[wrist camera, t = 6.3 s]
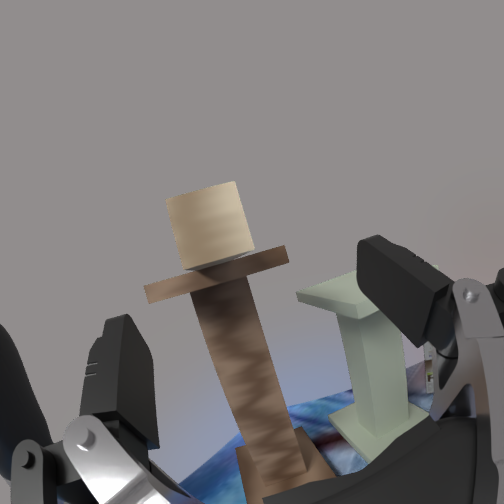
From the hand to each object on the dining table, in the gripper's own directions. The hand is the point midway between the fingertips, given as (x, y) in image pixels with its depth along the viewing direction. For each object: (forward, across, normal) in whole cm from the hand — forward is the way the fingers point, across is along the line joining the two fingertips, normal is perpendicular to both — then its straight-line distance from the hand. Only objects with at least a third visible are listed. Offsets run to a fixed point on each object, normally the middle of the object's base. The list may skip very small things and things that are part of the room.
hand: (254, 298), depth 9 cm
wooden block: (+15, -1, -7) cm, 16 cm away
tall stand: (+4, -1, -38) cm, 38 cm away
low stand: (+4, +16, -38) cm, 41 cm away
